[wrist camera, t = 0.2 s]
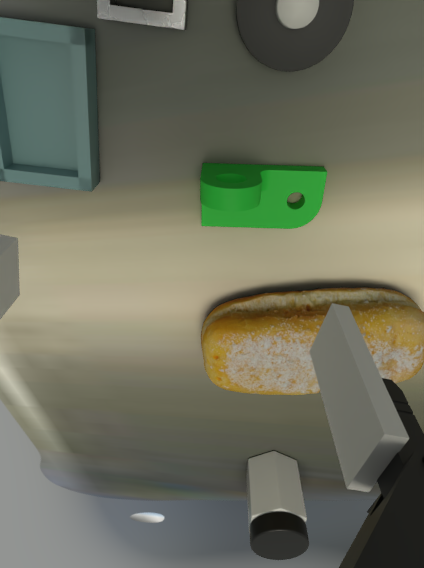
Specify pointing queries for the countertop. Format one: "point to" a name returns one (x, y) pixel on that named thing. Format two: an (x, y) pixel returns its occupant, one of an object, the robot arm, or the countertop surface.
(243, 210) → the mechanical part
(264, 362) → the bread
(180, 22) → the grey metal square frame
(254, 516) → the jar
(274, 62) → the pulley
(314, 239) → the countertop surface
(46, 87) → the tray
